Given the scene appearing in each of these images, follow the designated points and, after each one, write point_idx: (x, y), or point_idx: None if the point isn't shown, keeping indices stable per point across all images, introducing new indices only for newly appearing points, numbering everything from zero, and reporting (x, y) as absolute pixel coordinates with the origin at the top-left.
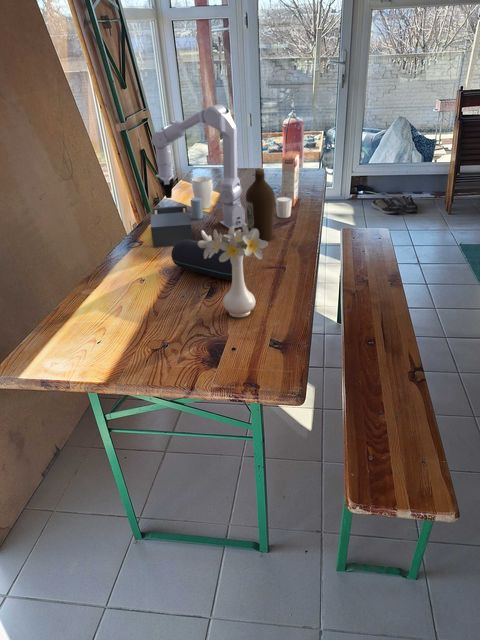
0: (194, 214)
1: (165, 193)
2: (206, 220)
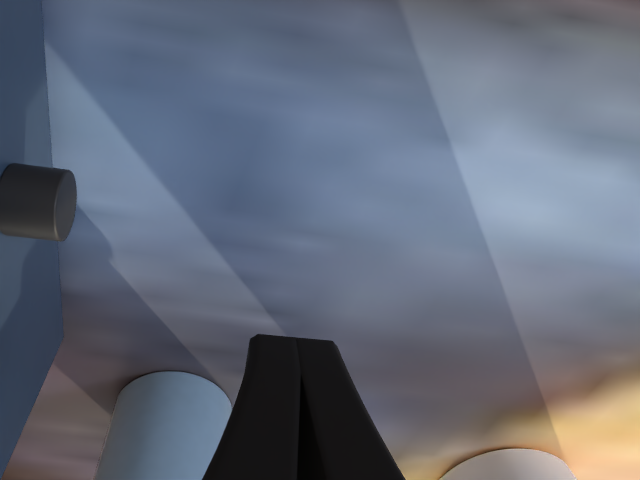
0: (111, 434)
1: (223, 436)
2: (70, 461)
